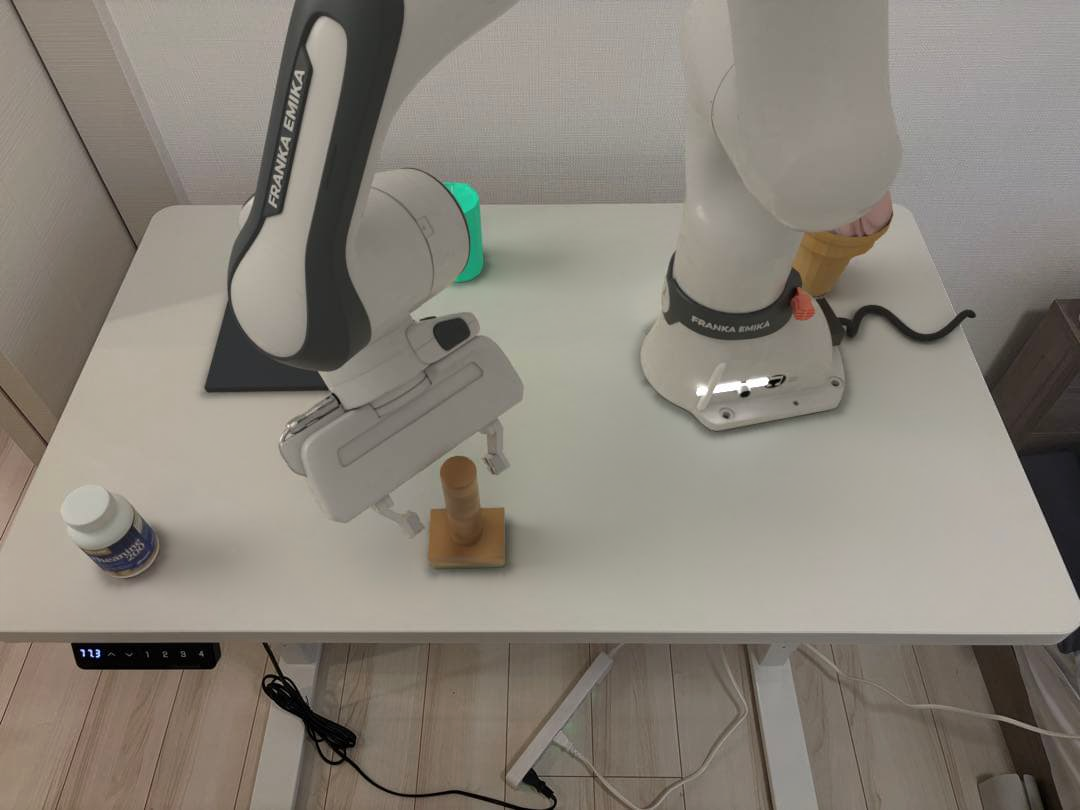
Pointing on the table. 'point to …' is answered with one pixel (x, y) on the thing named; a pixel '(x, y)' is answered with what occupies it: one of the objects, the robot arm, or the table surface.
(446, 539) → the wooden stamp
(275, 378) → the mat
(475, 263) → the candle
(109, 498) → the pill bottle
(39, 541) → the table surface
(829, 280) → the ice cream cone
